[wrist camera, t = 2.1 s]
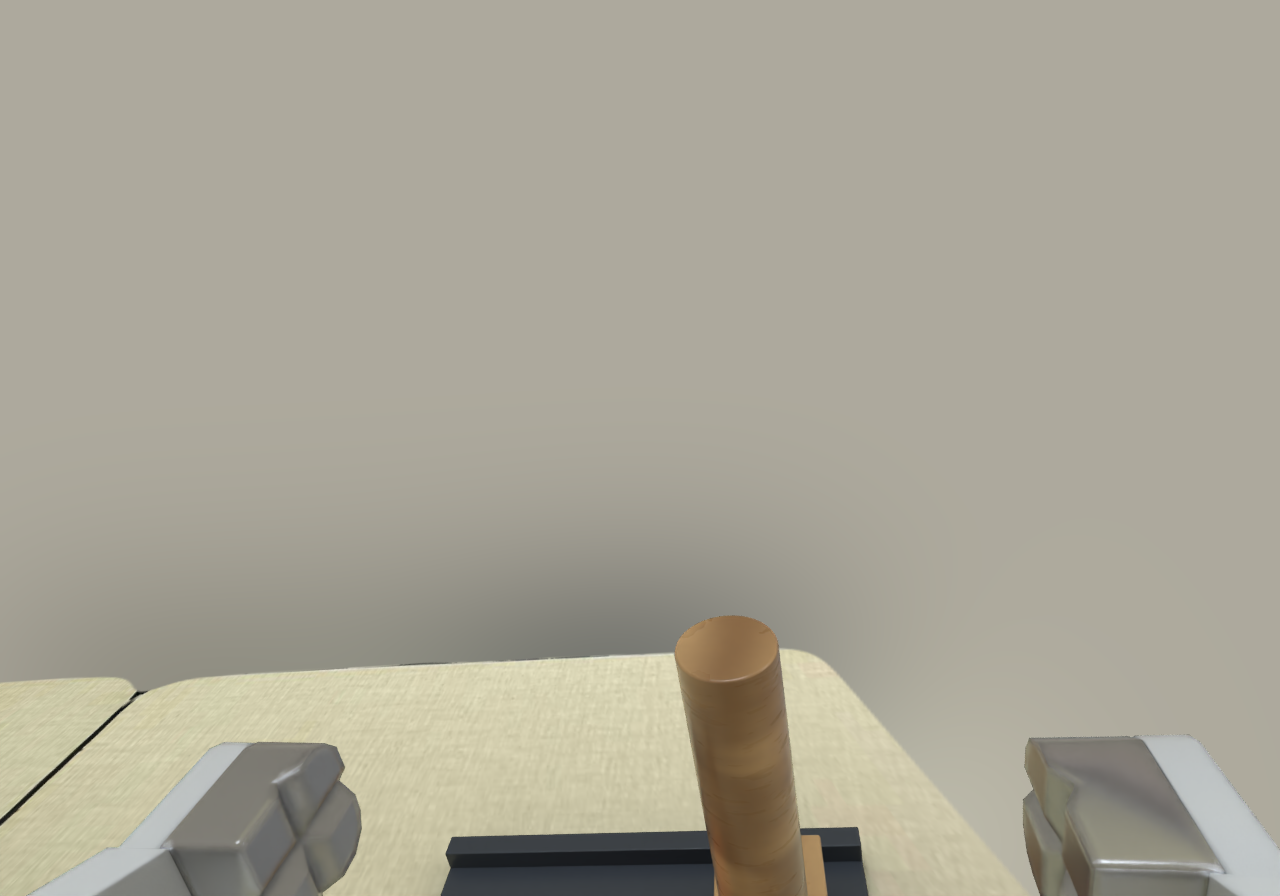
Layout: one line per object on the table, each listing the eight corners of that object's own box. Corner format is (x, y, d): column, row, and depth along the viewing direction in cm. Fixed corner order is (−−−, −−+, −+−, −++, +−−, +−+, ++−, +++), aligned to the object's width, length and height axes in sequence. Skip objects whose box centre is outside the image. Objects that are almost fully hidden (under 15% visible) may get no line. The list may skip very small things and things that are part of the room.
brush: (826, 899, 33) (790, 545, 26) (865, 1214, 24) (824, 790, 17) (726, 899, 34) (664, 555, 27) (724, 1206, 24) (629, 797, 17)
